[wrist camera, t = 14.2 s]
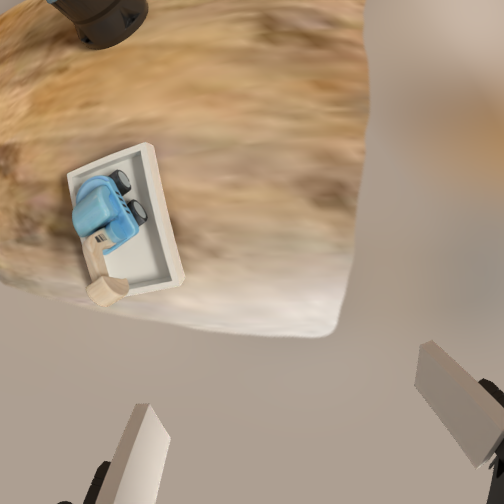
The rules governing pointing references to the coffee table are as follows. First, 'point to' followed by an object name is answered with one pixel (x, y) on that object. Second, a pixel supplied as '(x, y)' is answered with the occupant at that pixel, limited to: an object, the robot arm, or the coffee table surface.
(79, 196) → the toy excavator
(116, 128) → the coffee table surface
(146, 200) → the white tray
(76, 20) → the robot arm
